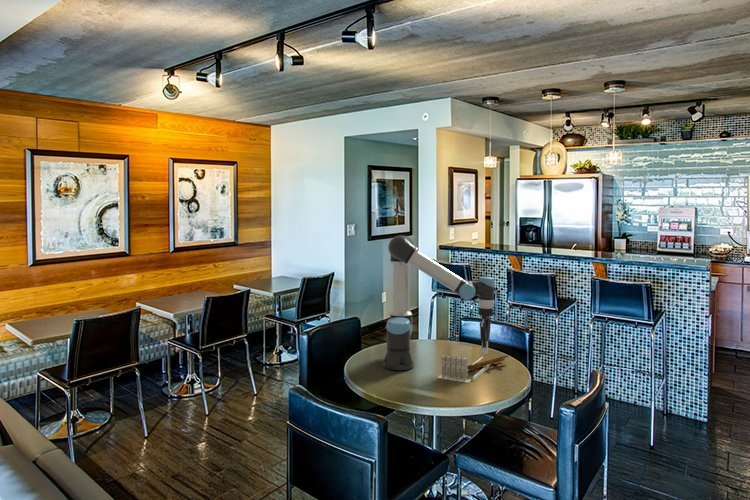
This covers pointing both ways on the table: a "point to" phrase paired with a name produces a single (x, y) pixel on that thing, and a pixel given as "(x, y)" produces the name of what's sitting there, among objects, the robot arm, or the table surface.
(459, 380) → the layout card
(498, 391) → the table surface
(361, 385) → the table surface
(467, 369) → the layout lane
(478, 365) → the brown branch
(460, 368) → the fixed fence segment
